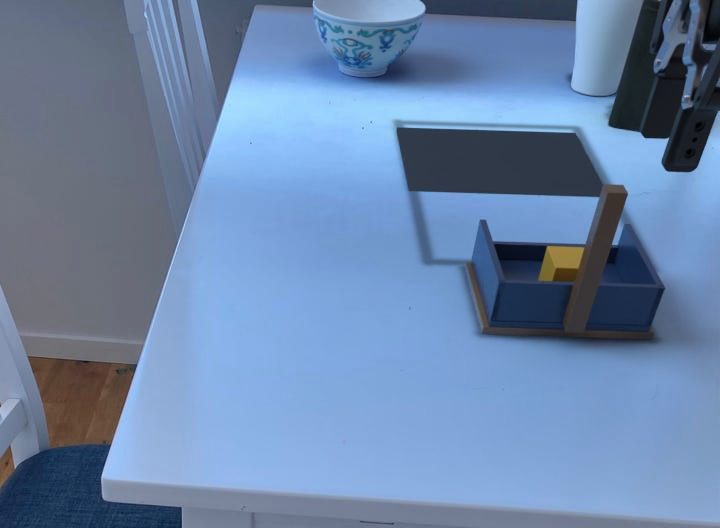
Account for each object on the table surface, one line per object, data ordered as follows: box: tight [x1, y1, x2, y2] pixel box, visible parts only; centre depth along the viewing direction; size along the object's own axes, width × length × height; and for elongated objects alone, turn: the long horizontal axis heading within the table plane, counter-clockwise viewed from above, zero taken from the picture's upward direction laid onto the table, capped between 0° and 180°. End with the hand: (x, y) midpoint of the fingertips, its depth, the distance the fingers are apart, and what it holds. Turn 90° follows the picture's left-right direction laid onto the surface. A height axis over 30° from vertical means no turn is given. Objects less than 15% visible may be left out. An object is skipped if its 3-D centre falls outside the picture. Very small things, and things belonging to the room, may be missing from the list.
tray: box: [470, 183, 666, 333], centre depth 81 cm, size 14×14×12 cm
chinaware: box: [312, 0, 427, 78], centre depth 128 cm, size 15×15×8 cm
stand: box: [464, 261, 655, 340], centre depth 87 cm, size 15×12×2 cm
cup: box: [570, 0, 644, 97], centre depth 122 cm, size 10×10×14 cm
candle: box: [607, 0, 683, 132], centre depth 110 cm, size 5×5×25 cm
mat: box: [396, 126, 603, 198], centre depth 104 cm, size 22×36×1 cm, turn 178°
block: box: [538, 246, 584, 282], centre depth 83 cm, size 4×4×4 cm
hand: (665, 151), depth 64 cm, fingers open, 5 cm apart
